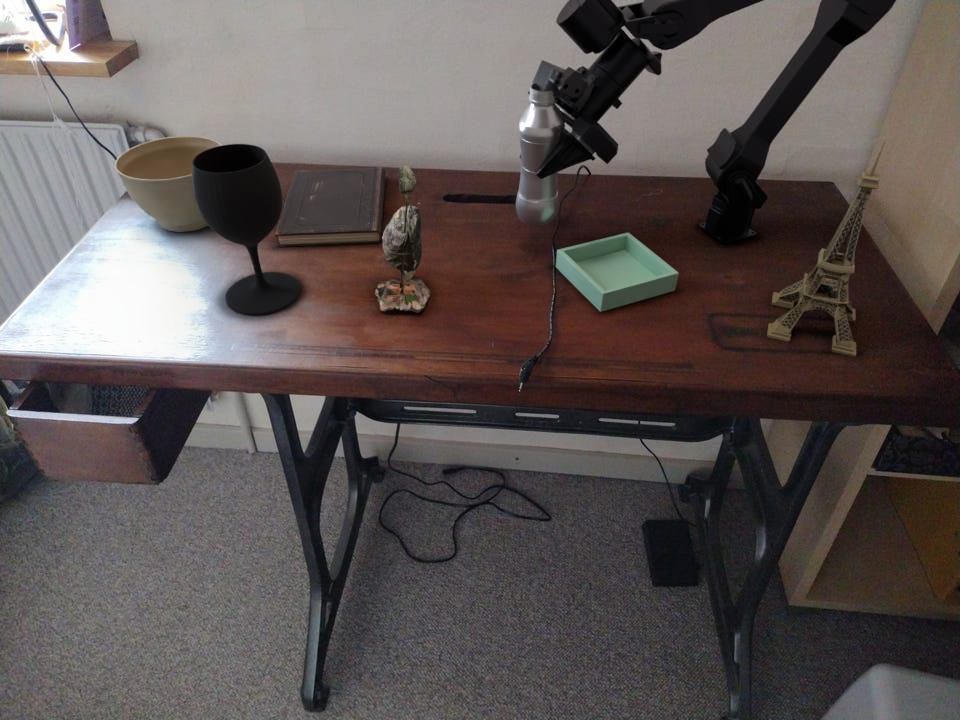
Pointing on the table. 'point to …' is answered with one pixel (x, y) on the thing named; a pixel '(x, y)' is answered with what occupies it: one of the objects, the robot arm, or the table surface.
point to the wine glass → (244, 219)
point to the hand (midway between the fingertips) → (529, 168)
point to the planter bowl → (165, 179)
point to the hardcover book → (333, 207)
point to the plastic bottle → (538, 158)
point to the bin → (616, 271)
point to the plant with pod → (403, 254)
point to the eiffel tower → (833, 266)
